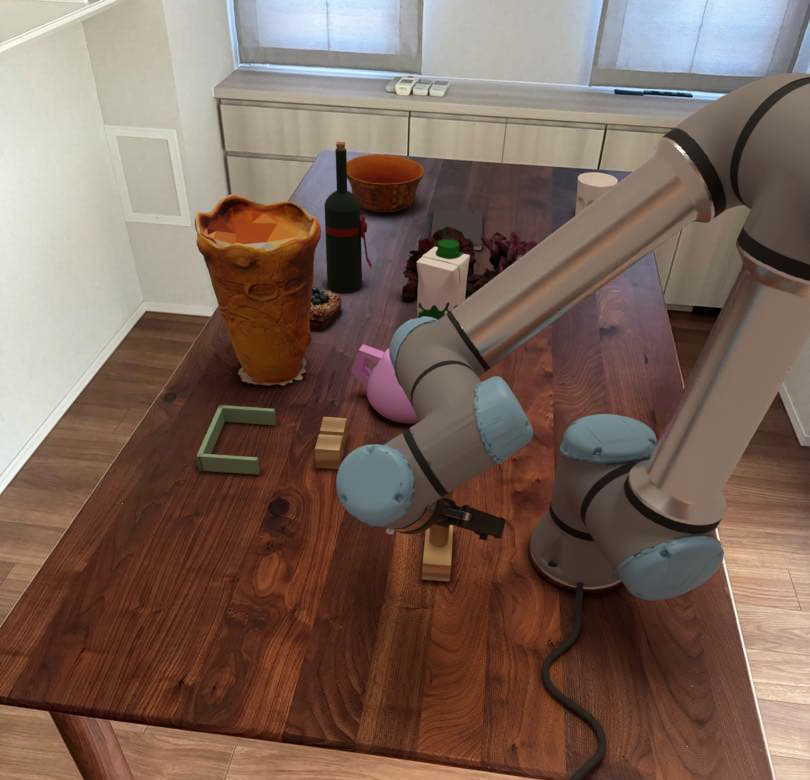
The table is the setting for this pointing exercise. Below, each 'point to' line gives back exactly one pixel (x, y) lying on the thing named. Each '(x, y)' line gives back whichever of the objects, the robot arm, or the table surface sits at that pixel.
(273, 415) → the frame
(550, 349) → the table surface
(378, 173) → the bowl
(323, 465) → the cube
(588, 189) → the cup
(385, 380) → the teapot
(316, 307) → the pastry
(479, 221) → the notebook
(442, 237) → the flower arrangement
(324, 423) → the cube
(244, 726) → the table surface
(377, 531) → the table surface
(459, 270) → the soya milk
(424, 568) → the peg on base
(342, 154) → the wine bottle
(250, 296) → the vase
